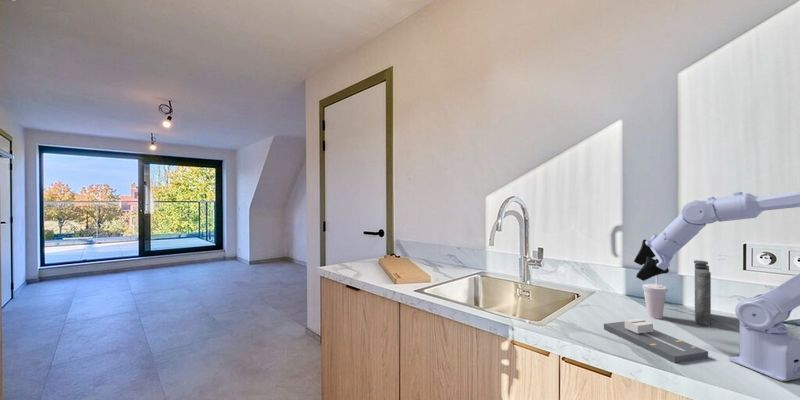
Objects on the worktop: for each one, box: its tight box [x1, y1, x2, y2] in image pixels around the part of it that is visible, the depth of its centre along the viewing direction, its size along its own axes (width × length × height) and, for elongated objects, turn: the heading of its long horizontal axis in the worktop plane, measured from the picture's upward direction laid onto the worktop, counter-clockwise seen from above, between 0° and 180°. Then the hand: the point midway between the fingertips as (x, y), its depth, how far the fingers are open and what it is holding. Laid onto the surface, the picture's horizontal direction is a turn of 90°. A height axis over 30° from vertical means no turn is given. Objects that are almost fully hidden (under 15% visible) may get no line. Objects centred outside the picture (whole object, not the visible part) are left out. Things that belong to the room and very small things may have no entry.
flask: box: [693, 259, 712, 328], centre depth 102 cm, size 4×14×18 cm, turn 139°
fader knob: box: [624, 317, 654, 334], centre depth 91 cm, size 4×5×2 cm
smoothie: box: [641, 275, 668, 320], centre depth 105 cm, size 6×6×14 cm
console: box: [603, 320, 709, 364], centre depth 87 cm, size 20×10×2 cm, turn 12°
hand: (638, 270), depth 96 cm, fingers open, 7 cm apart
